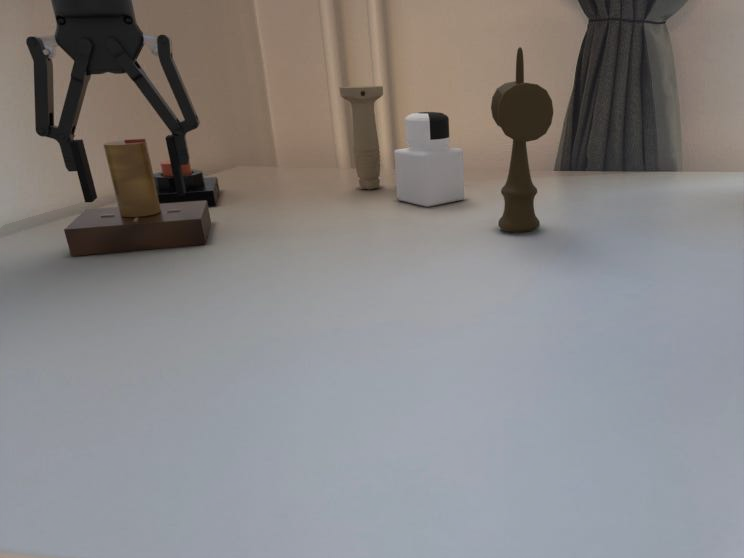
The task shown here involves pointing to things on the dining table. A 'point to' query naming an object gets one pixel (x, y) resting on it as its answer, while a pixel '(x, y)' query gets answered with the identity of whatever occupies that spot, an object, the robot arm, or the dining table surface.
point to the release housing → (187, 188)
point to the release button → (168, 170)
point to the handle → (365, 133)
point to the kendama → (520, 144)
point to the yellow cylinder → (132, 177)
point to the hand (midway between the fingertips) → (137, 196)
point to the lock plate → (138, 229)
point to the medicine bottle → (429, 162)
